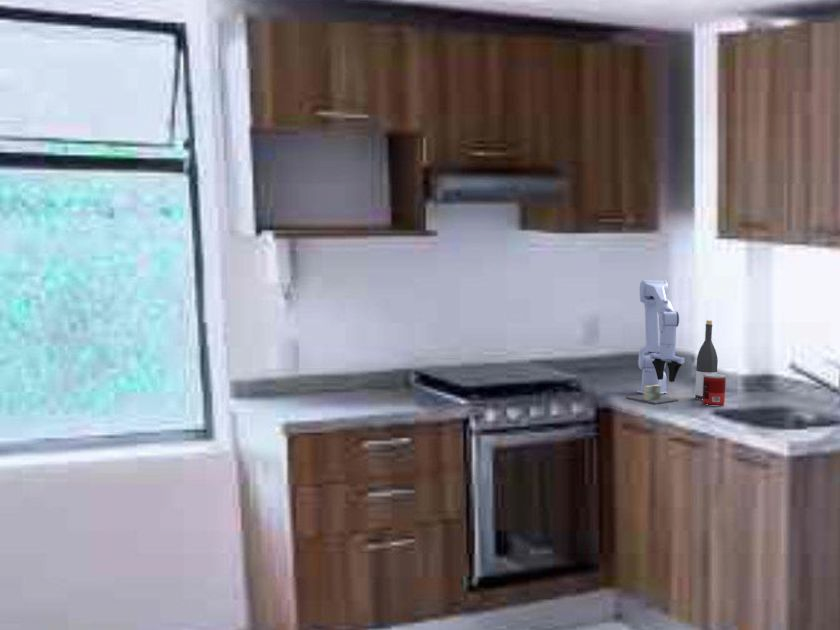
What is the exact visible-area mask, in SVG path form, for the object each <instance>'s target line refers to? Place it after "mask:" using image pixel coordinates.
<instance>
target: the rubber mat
mask: <svg viewBox="0 0 840 630" xmlns="http://www.w3.org/2000/svg"><path fill="white" fill-rule="evenodd" d="M625 398H626V399H627V400H632V401H638V402H642V403H646V404H650V405H660V404H659V403H662V404H667V403H666V402H669V403H673V402H672V401H676V402H678V401H679V399H676V398H674V397H672V398H671V397H666V396H661V395H660V399H653V400H644V394H639V395H638V394H637V395H630V396H626V397H625Z"/></svg>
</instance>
